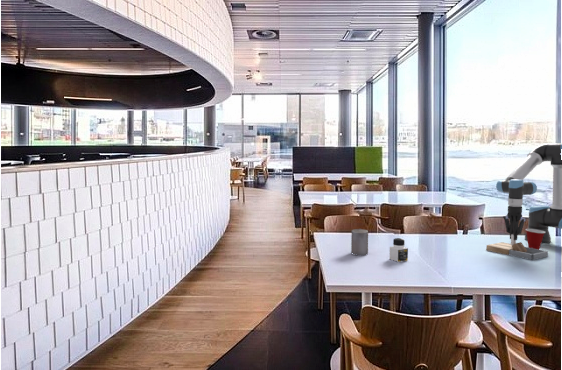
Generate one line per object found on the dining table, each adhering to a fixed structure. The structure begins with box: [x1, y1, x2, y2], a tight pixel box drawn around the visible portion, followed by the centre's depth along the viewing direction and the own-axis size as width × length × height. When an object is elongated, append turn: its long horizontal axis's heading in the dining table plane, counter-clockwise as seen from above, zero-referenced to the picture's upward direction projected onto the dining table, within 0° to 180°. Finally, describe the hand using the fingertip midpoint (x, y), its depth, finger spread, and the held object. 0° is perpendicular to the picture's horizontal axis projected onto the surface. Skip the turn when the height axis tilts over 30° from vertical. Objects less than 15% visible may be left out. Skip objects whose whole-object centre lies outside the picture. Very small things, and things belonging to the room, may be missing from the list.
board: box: [486, 242, 514, 256], centre depth 272 cm, size 16×14×3 cm
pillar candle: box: [350, 228, 369, 256], centre depth 263 cm, size 10×10×15 cm
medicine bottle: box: [388, 237, 409, 263], centre depth 250 cm, size 7×7×12 cm
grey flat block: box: [508, 246, 549, 261], centre depth 260 cm, size 15×14×3 cm
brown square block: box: [512, 241, 527, 253], centre depth 264 cm, size 6×6×3 cm
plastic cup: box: [525, 228, 545, 250], centre depth 275 cm, size 11×11×12 cm
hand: (513, 245), depth 267 cm, fingers closed
